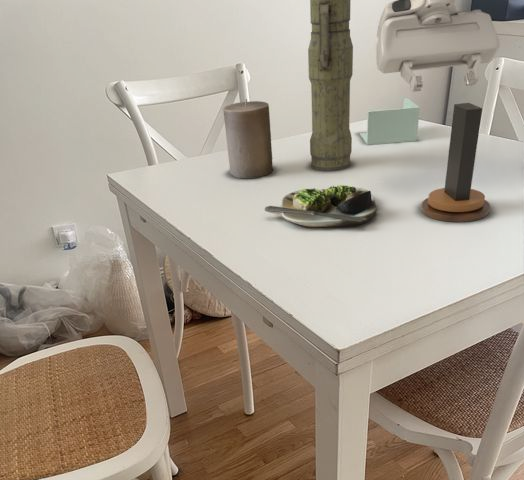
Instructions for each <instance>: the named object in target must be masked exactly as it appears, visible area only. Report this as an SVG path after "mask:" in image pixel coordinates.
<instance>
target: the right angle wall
mask: <svg viewBox="0 0 524 480" xmlns="http://www.w3.org/2000/svg"><path fill="white" fill-rule="evenodd" d="M420 109H421V108H420V106H419V105H417V104H416V103H415V102H413V101H412V100H410V99H409V98H407V97H405V98H403V107H398V108H388V109H386V108H385V109H375V110H374V109H373V110H367V118H366V120H367V121H366V132H359V135H360V137H361V138H362V139H363V141H364V142H365V144H366V145H368V146H371V145H381V144H382V145H383V144H396V143H407V142H417V141H418V134H419V133H418V132H419V120H420Z"/></svg>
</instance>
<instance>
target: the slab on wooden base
mask: <svg viewBox="0 0 524 480" xmlns="http://www.w3.org/2000/svg"><path fill="white" fill-rule="evenodd" d="M482 112H483V107H480V106H477V105H475V104H473V103H470V102H463V103H455V104H453V112H452V122H451V130H450V131H451V132H450V139H449V147H448V157H447V164H446V172H445V173H446V174H445V180H444V181H445V182H444V187H442V188H438V189H435V190H432V191H431V192H429V193H428V197H427V198H428V204H429V205H430V206H431V207H433V208H435V209H438V210H442V211H448V212H467V211H473V210H477V209H479V208H481V207H482V206H483V205H484V200H486V196H485V194H484V193H483V192H482V191H480V190H477V189H475V188H472V184H473V183H472V182H473V177H474V169H475V162H476V156H477V149H478V141H479V136H480V135H479V134H480V127H481V119H482V114H483V113H482Z"/></svg>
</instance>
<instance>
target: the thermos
mask: <svg viewBox="0 0 524 480" xmlns="http://www.w3.org/2000/svg"><path fill="white" fill-rule="evenodd" d="M309 8H310V9H309V11H310V15H309V16H310V24H311V32H310V41H309V45H308V49H307V58H308V59H307V60H308V63H307V64H308V80H309V82H310V88H311V89H310V90H311V131H312V132H311V136H310V140H309V154H310V157H311V159H310V160H311V164H310V166H311V169H313V170H315V171H316V170H317V171H319V172H320V171H321V172H333V171H334V172H335V171H340V170H341V171H342V170H345V169H348V168H349V167H351V163H352V162H351V154H352V152H353V151H352V147H353V142H352V141H353V137H352V132H351V129H350V114H351V113H350V112H351V111H350V110H351V109H350V108H351V107H350V106H351V105H350V104H351V80H352V77H353V69H354V68H353V66H354V62H353V61H354V44H353V41H352V38H351V28H350V21H351V0H309Z"/></svg>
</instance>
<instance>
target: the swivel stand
mask: <svg viewBox="0 0 524 480" xmlns="http://www.w3.org/2000/svg"><path fill="white" fill-rule="evenodd" d="M490 208H491V205H490V203H489V201H487V200H486V199H485V200H484V205H483V206H482V207H481V208H479V209H477V210H473V211H467V212H448V211H442V210H438V209H435V208H433V207H431V206H430V205H429V204H428V197H427V198H425V199H424V200H423V201H422V202H421V208H420V210H421V213H422V214H423V215H424V216H426V217H428V218H430V219H432V220H437V221H442V222H447V223H448V222H449V223H450V222H451V223H465V222H466V223H467V222H473V221H478V220H482V219H483V218H485V217H487V216H488V215H489V213H490Z"/></svg>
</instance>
